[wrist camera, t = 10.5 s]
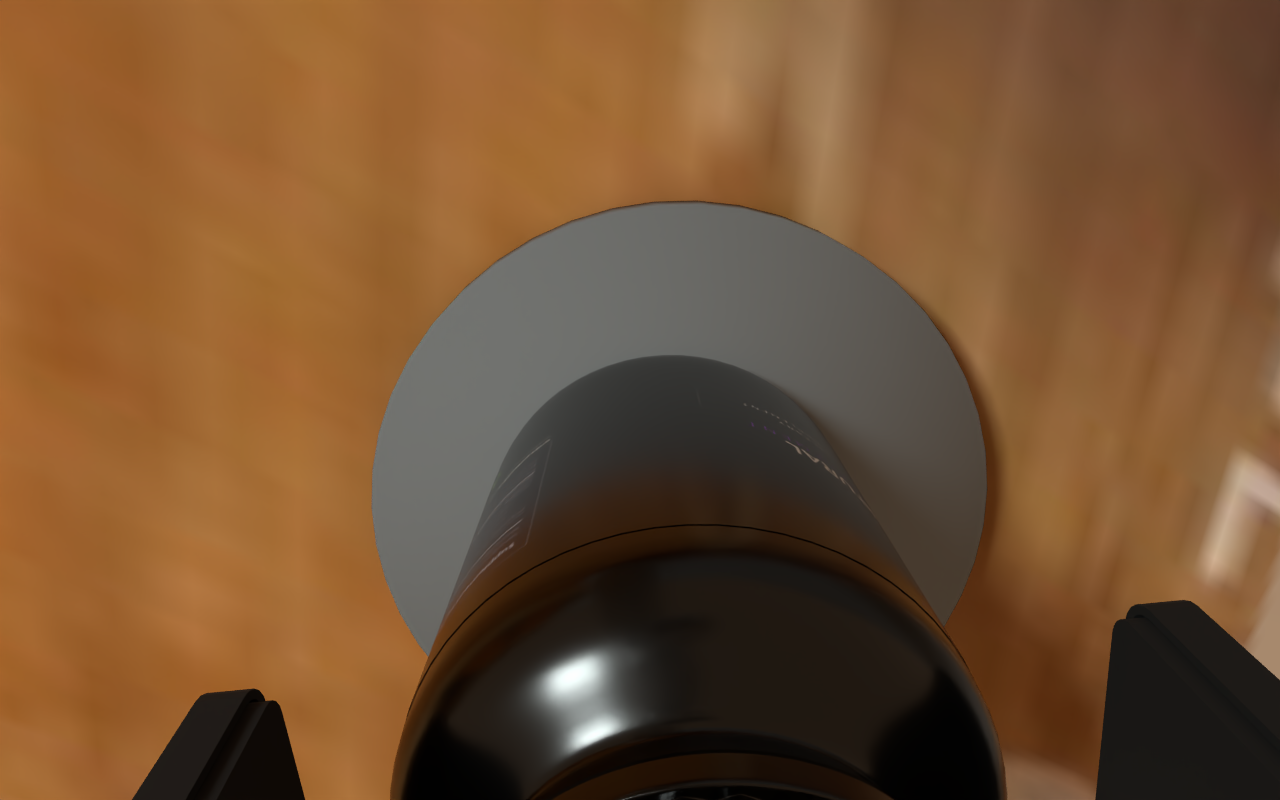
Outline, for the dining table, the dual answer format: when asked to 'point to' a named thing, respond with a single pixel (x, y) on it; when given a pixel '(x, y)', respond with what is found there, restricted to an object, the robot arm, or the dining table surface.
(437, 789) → the supplement bottle
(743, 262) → the coaster
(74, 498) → the dining table surface
